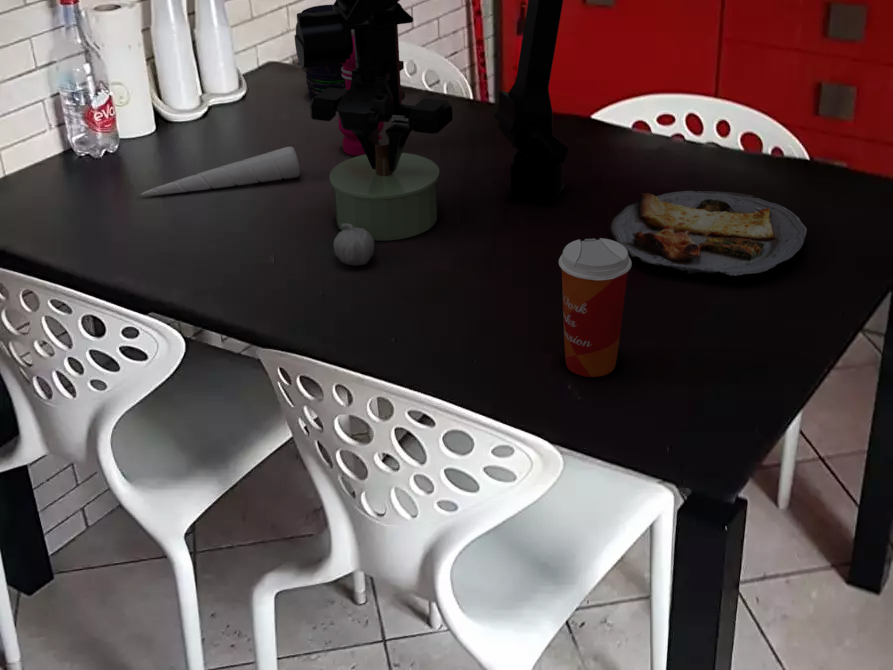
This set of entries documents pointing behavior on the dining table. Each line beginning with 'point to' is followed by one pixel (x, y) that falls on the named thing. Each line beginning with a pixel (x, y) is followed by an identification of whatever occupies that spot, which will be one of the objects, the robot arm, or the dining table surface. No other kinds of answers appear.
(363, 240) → the garlic
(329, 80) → the storage jar
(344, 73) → the pepper mill
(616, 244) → the paper cup
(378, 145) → the lid
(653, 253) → the food plate
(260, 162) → the unicorn horn
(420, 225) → the squat sage green cylinder
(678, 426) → the dining table surface
